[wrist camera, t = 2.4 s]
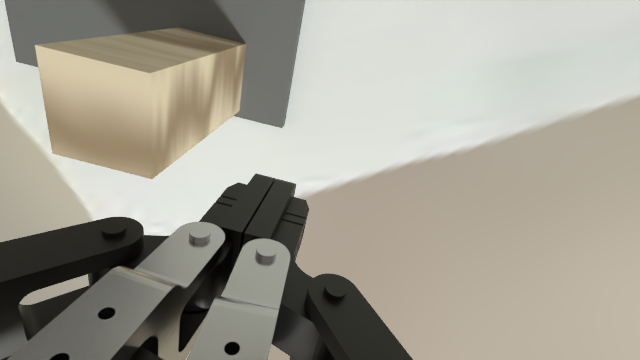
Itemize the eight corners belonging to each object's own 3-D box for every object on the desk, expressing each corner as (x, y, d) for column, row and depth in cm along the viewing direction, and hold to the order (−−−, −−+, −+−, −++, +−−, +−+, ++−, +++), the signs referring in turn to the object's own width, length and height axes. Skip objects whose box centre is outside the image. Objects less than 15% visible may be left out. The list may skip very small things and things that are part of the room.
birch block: (178, 27, 25) (34, 45, 15) (246, 43, 25) (149, 73, 14) (177, 95, 28) (52, 153, 17) (239, 111, 27) (151, 179, 17)
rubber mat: (-2, -89, 24) (-13, -91, 24) (307, -16, 24) (305, -16, 23) (25, 60, 29) (16, 61, 28) (284, 124, 28) (282, 128, 28)
